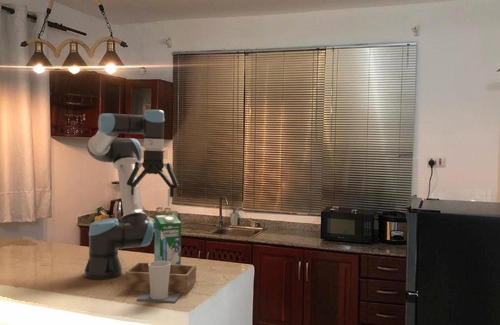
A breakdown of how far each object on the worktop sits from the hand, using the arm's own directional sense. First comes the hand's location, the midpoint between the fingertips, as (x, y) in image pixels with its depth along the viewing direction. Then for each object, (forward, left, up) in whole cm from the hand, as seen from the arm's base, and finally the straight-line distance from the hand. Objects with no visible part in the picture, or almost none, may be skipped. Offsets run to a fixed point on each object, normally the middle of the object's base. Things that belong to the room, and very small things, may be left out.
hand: (152, 204), depth 172 cm
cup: (+7, -12, -32) cm, 35 cm away
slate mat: (+7, -12, -32) cm, 35 cm away
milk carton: (+1, +18, -33) cm, 37 cm away
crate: (+4, +1, -32) cm, 33 cm away
